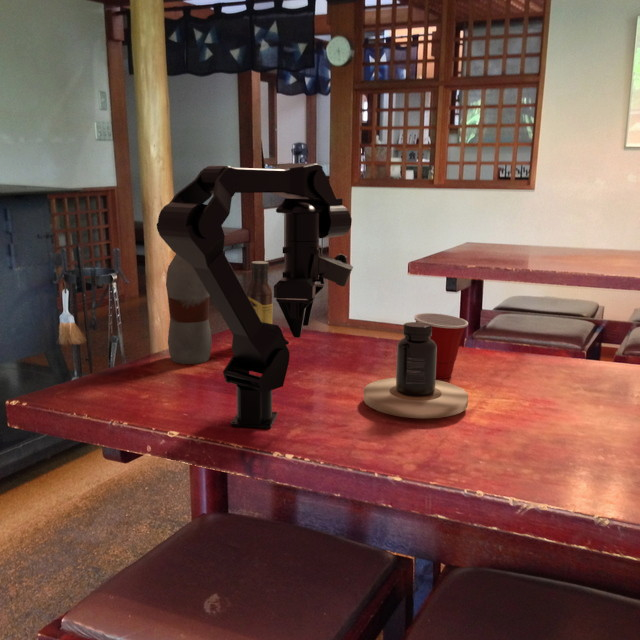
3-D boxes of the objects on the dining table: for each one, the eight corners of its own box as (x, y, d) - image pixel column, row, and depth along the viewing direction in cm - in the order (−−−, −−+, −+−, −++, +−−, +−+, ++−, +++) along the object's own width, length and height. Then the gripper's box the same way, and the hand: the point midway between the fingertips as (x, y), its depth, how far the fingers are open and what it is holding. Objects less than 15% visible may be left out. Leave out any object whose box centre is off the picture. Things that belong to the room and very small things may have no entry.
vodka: (161, 363, 141) (156, 220, 135) (176, 352, 150) (172, 218, 144) (204, 366, 140) (201, 221, 134) (217, 355, 149) (215, 219, 143)
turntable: (472, 421, 107) (473, 411, 107) (360, 414, 109) (360, 405, 109) (463, 387, 125) (463, 379, 124) (366, 382, 127) (366, 374, 126)
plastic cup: (461, 385, 129) (464, 325, 127) (406, 379, 133) (408, 320, 130) (468, 371, 139) (472, 314, 137) (417, 365, 143) (419, 310, 140)
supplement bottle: (442, 391, 117) (446, 324, 114) (420, 400, 112) (423, 330, 109) (410, 383, 121) (412, 318, 119) (387, 391, 116) (389, 324, 114)
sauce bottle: (242, 343, 160) (241, 260, 156) (266, 341, 163) (266, 259, 158) (251, 349, 154) (250, 263, 150) (276, 347, 157) (276, 262, 153)
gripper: (345, 247, 102) (342, 346, 105) (354, 236, 120) (352, 321, 123) (273, 245, 103) (273, 343, 106) (293, 235, 121) (292, 319, 124)
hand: (301, 331), depth 115 cm, fingers open, 9 cm apart
